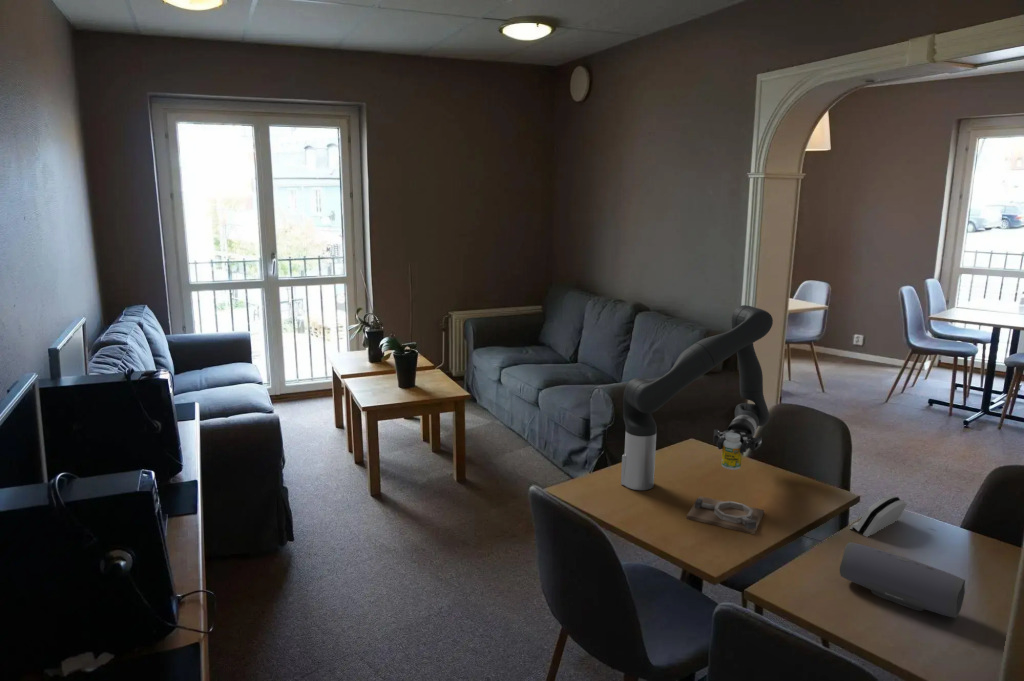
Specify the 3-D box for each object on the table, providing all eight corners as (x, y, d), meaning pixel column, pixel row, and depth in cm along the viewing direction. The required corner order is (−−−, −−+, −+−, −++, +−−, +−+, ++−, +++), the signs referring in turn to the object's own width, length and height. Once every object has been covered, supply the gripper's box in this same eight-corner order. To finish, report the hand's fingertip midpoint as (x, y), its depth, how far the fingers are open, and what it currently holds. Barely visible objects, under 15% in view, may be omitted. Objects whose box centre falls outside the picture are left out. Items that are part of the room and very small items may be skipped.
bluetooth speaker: (962, 612, 147) (968, 570, 145) (952, 631, 140) (959, 588, 138) (850, 572, 162) (855, 533, 160) (836, 588, 155) (841, 548, 153)
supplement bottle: (740, 464, 197) (743, 432, 195) (740, 471, 192) (743, 439, 190) (721, 461, 199) (723, 430, 197) (720, 468, 194) (723, 437, 192)
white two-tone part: (879, 513, 192) (896, 486, 187) (895, 524, 189) (912, 497, 184) (848, 529, 182) (864, 501, 178) (864, 542, 179) (881, 514, 174)
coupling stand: (686, 518, 188) (687, 509, 187) (699, 499, 200) (700, 490, 199) (754, 534, 180) (755, 524, 179) (763, 513, 191) (764, 504, 191)
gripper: (718, 414, 209) (705, 431, 194) (768, 422, 202) (758, 440, 188) (717, 437, 211) (704, 455, 196) (765, 445, 204) (756, 465, 189)
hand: (730, 447), depth 192 cm, fingers closed on supplement bottle, 5 cm apart
